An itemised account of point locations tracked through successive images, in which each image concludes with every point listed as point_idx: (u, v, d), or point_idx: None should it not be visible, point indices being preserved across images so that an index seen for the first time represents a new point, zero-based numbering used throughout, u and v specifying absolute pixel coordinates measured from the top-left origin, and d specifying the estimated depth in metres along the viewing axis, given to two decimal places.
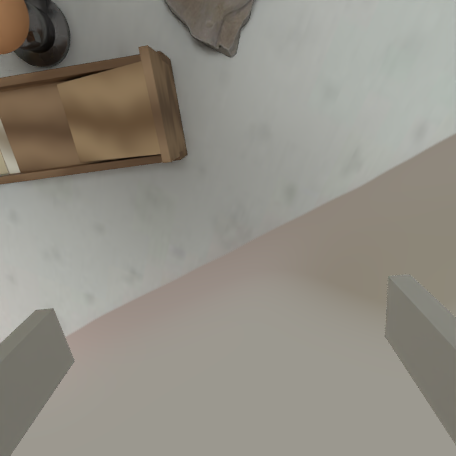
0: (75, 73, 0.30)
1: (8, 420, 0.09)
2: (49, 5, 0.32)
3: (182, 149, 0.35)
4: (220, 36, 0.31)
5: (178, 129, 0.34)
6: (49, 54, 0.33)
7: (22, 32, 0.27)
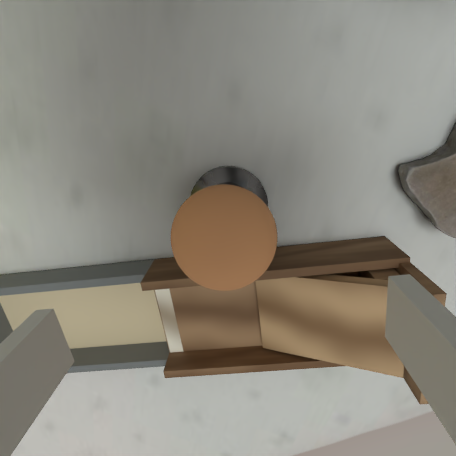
0: (295, 276, 0.25)
1: (8, 420, 0.09)
2: (252, 181, 0.26)
3: None
4: None
5: None
6: None
7: None
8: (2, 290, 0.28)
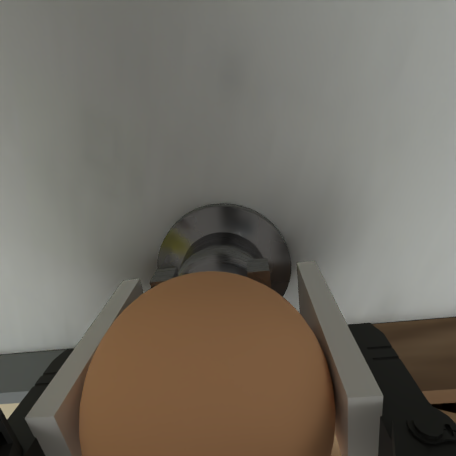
0: None
1: None
2: (265, 231, 0.15)
3: None
4: None
5: None
6: None
7: None
8: None
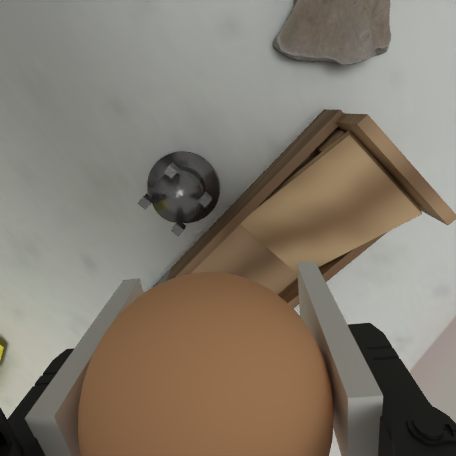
0: (262, 200, 0.25)
1: None
2: (183, 157, 0.28)
3: None
4: (374, 39, 0.23)
5: None
6: None
7: None
8: None
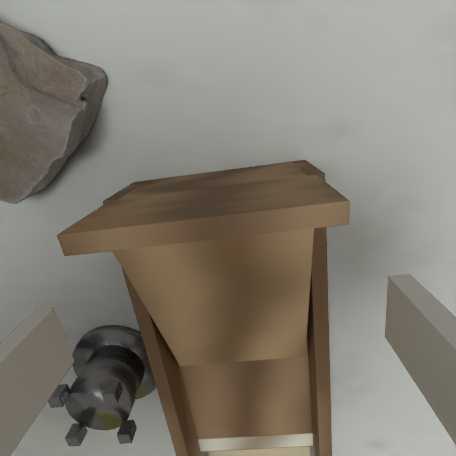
0: (157, 347, 0.18)
1: (8, 420, 0.09)
2: (84, 345, 0.23)
3: (296, 168, 0.16)
4: (62, 95, 0.15)
5: (254, 174, 0.16)
6: (144, 357, 0.23)
7: None
8: None
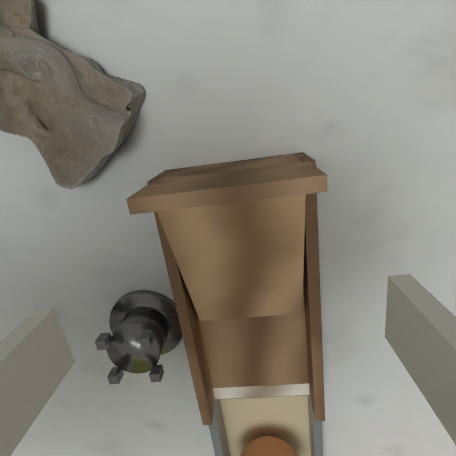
0: (183, 300, 0.22)
1: (8, 420, 0.09)
2: (119, 306, 0.27)
3: (295, 158, 0.20)
4: (113, 106, 0.20)
5: (262, 162, 0.20)
6: (169, 317, 0.28)
7: (295, 451, 0.30)
8: None
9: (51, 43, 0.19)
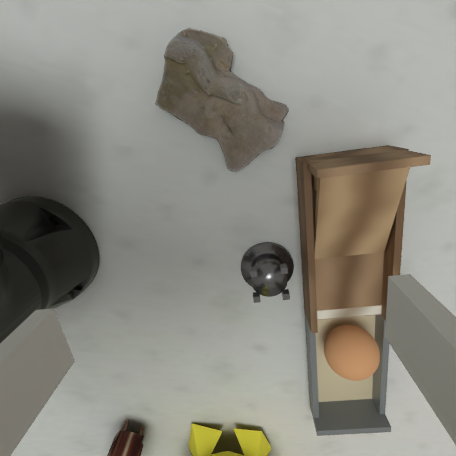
0: (313, 241, 0.34)
1: (8, 420, 0.09)
2: (250, 253, 0.39)
3: (389, 148, 0.32)
4: (275, 119, 0.32)
5: (369, 151, 0.32)
6: (284, 261, 0.40)
7: None
8: (314, 401, 0.45)
9: (242, 80, 0.31)
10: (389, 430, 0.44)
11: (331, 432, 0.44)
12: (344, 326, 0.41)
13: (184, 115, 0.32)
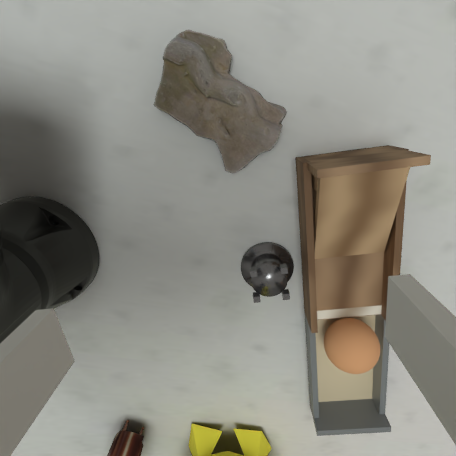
0: (313, 241, 0.34)
1: (8, 420, 0.09)
2: (250, 253, 0.39)
3: (389, 148, 0.32)
4: (273, 121, 0.32)
5: (369, 151, 0.32)
6: (284, 261, 0.40)
7: None
8: (314, 401, 0.45)
9: (240, 82, 0.31)
10: (389, 430, 0.44)
11: (331, 432, 0.44)
12: (342, 318, 0.41)
13: (183, 116, 0.32)
